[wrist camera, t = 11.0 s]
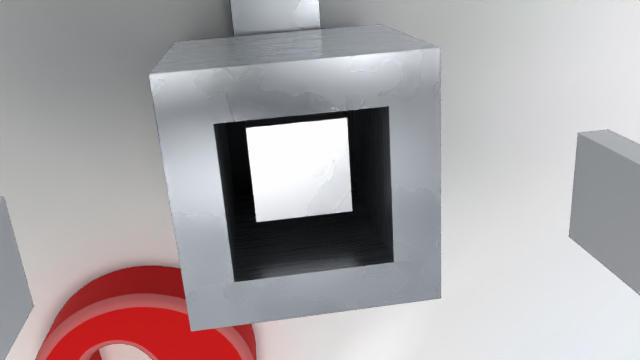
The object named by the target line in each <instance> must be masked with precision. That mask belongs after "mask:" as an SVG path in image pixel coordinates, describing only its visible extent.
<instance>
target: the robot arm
mask: <svg viewBox="0 0 640 360" xmlns="http://www.w3.org/2000/svg"><path fill="white" fill-rule="evenodd" d="M569 237H570V238H571V239H572V240H574V241H575V242H576V243H577V244H578V245H580V246H581V247H582V248H583V249H584V250H586V251H587V252H588V253H589V254H590V255H592V256H593V257H594V258H595V259H597V260H598V261H599V262H600V263H601V264H603V265H604V266H605V267H606V268H607V269H609V270H610V271H611V272H612V273H613V274H615V275H616V276H617V277H618V278H619V279H621V280H622V281H623V282H624V283H625V284H627V285H628V286H629V287H630V288H632V289H633V290H634V291H635V292H636V293H638V294H639V295H640V144H638V143H636V142H634V141H632V140H630V139H627V138H625V137H623V136H621V135H619V134H617V133H614V132H612V131H610V130H608V129H607V130H598V131H589V132H580V133H578V137H577V148H576V160H575V171H574V183H573V194H572V206H571V217H570V229H569ZM33 307H34V305H33V301H32V298H31V294H30V290H29V287H28V283H27V279H26V276H25V272H24V268H23V265H22V261H21V257H20V254H19V250H18V246H17V243H16V239H15V235H14V232H13V228H12V224H11V220H10V217H9V213H8V209H7V206H6V202H5V198H4V196H2V197H0V360H5V358H6V356H7V354H8V353H9V351H10V349H11V347H12V345H13V343H14V342H15V340H16V338H17V336H18V334H19V332H20V331H21V329H22V327H23V325H24V323H25V321H26V320H27V318H28V316H29V314H30V312H31V310H32V309H33Z"/></svg>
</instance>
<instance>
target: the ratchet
mask: <svg viewBox="0 0 640 360" xmlns="http://www.w3.org/2000/svg"><path fill="white" fill-rule="evenodd" d="M230 3H231V12H232V21H233V29H234V37H235V36H247V35H259V34H270V33H282V32H293V31H305V30H317V29H321V26H320V11H319V0H230ZM226 131H227V139H228V147H229V155H230V163H231V171H232V178H233V186H234V194H235V195H241V194H250V193H253V195H254V204H255V212H256V221H257V222H262V221H271V220H280V219H288V218H297V217H305V216H314V215H323V214H331V213H340V212H348V211H352V197H351V172H350V155H349V137H348V119H347V111H337V112H327V113H317V114H307V115H297V116H287V117H277V118H267V119H257V120H247V121H237V122H227V123H226Z"/></svg>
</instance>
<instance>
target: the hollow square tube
mask: <svg viewBox="0 0 640 360" xmlns="http://www.w3.org/2000/svg"><path fill="white" fill-rule="evenodd" d="M149 80H150V86H151V92H152V98H153V104H154V110H155V116H156V122H157V128H158V134H159V140H160V146H161V152H162V158H163V164H164V171H165V177H166V183H167V189H168V195H169V201H170V207H171V213H172V219H173V225H174V231H175V237H176V243H177V249H178V255H179V261H180V267H181V273H182V279H183V285H184V291H185V298H186V304H187V310H188V316H189V322H190V328H191V331H199V330H206V329H214V328H221V327H229V326H236V325H244V324H251V323H259V322H266V321H274V320H282V319H289V318H297V317H304V316H312V315H319V314H327V313H334V312H342V311H349V310H357V309H364V308H372V307H380V306H387V305H395V304H402V303H410V302H417V301H425V300H432V299H440V298H441V138H440V48H439V47H437V46H434V45H432V44H429V43H427V42H424V41H421V40H419V39H416V38H414V37H411V36H409V35H406V34H404V33H401V32H399V31H396V30H394V29H391V28H389V27H386V26H384V25H381V24H375V25H363V26H352V27H340V28H328V29H317V30H305V31H293V32H282V33H270V34H259V35H247V36H235V37H224V38H212V39H200V40H189V41H177V42H174V44H173V45H172V46H171V47H170V48H169V50H168V51H167V52H166V53H165V55H164V56H163V57H162V58H161V60H160V61H159V62H158V63H157V65H156V66H155V67H154V68H153V70H152V71H151V72H150V73H149ZM337 111H347V119H348V137H349V155H350V172H351V197H352V211H348V212H340V213H331V214H323V215H314V216H305V217H297V218H288V219H280V220H271V221H262V222H257V221H256V212H255V204H254V195H253V193H250V194H241V195H235V194H234V186H233V178H232V171H231V163H230V155H229V147H228V139H227V131H226V123H227V122H237V121H247V120H257V119H267V118H277V117H287V116H297V115H307V114H317V113H327V112H337Z"/></svg>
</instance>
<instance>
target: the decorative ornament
mask: <svg viewBox="0 0 640 360" xmlns="http://www.w3.org/2000/svg"><path fill="white" fill-rule="evenodd" d="M110 344H127V345H132V346H134V347H136V348H138V349H140V350H141V351H143V352H144V353H146V354H147V355H148V356H149V357H150V358H151V359H152V360H256V343H255V337H254V332H253V329H252V326H251V324H244V325H236V326H229V327H221V328H214V329H206V330H199V331H191V328H190V322H189V316H188V310H187V304H186V298H185V291H184V285H183V279H182V273H181V269H178V268H172V267H164V266H139V267H131V268H126V269H122V270H118V271H115V272H112V273H109V274H106V275H104V276H102V277H99V278H98V279H96V280H94V281H92V282H90V283H89V284H87V285H86V286H84V287H83V288H82V289H80V290H79V291H78V292H77V293H76V294H74V295H73V296H72V297H71V298H70V299H69V300H68V302H67V303H66V304H65V305H64V307H63V308H62V310H61V311H60V312H59V314H58V315H57V317H56V319H55V321H54V323H53V325H52V327H51V329H50V331H49V333H48V334H47V336H46V338H45V340H44V342H43V344H42V346H41V348H40V350H39V352H38V354H37V357H36V359H35V360H102V359H101V356H100V353H99V349H100V348H101V347H104V346H107V345H110Z"/></svg>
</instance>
